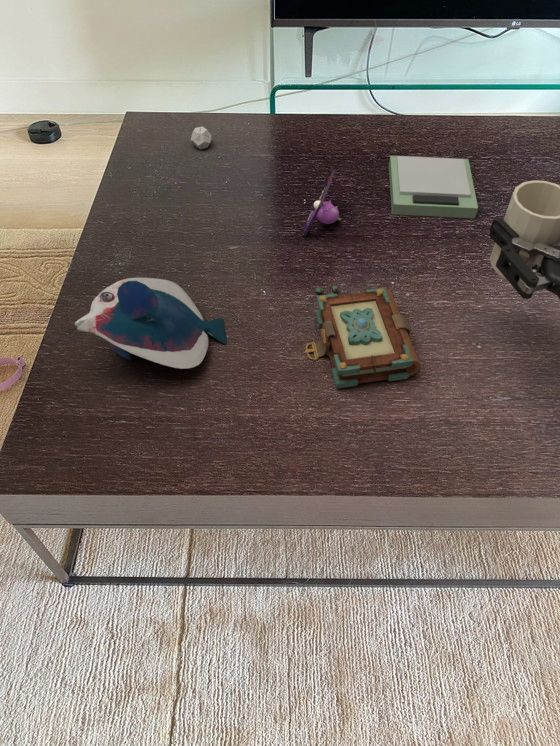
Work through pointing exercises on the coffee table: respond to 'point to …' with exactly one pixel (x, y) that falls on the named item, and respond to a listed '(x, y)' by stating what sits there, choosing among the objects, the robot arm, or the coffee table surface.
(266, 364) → the coffee table surface
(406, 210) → the scale
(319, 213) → the purple winged figurine
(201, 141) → the game die
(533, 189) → the cup
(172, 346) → the decorative fish sculpture
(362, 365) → the decorative book
